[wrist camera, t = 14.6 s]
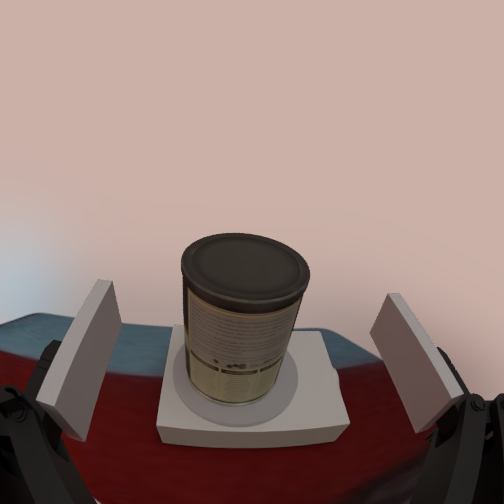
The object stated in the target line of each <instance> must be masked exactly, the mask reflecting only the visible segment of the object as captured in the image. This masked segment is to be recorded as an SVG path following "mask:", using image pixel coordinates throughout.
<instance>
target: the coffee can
mask: <svg viewBox="0 0 504 504" xmlns="http://www.w3.org/2000/svg"><path fill="white" fill-rule="evenodd" d="M181 271H182V275H183V314H184V339H185V359H186V375H187V378H188V381H189V383H190V385H191V386H192V388H193V389H194V390H195V391H196V392H197V393H198V394H199V395H201V396H202V397H203V398H205V399H207V400H208V401H210V402H213V403H215V404H218V405H222V406H230V407H241V406H247V405H251V404H254V403H256V402H258V401H260V400H262V399H263V398H264V397H266V396H267V395H268V394H269V393H270V392H271V391H272V389H273V388H274V386H275V384H276V381H277V377H278V373H279V370H280V367H281V364H282V361H283V359H284V356H285V353H286V350H287V347H288V344H289V340H290V337H291V334H292V331H293V328H294V324H295V321H296V318H297V314H298V311H299V308H300V304H301V301H302V297H303V293H304V292H305V290H306V288H307V286H308V283H309V279H310V270H309V267H308V265H307V263H306V261H305V260H304V259H303V257H302V256H301V255H300V254H299V253H297V252H296V251H295V250H293V249H292V248H290V247H289V246H287V245H285V244H283V243H281V242H278V241H276V240H273V239H270V238H267V237H263V236H259V235H253V234H244V233H223V234H216V235H211V236H207V237H204V238H202V239H199V240H197V241H195V242H194V243H192V244H191V245H190V246H188V247H187V248H186V250H185V251H184V253H183V255H182V258H181Z"/></svg>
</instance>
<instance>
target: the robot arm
mask: <svg viewBox="0 0 504 504" xmlns="http://www.w3.org/2000/svg"><path fill="white" fill-rule="evenodd" d="M121 328H122V322H121V318H120V314H119V310H118V305H117V301H116V296H115V291H114V286H113V281H109V280H99V279H98V280H97V282H96V283H95V285H94V286H93V289H92V290H91V291H90V293H89V295H88V296H87V298H86V300H85V301H84V303H83V305H82V307H81V309H80V310H79V312H78V314H77V315H76V317H75V319H74V321H73V323H72V324H71V326H70V328H69V330H68V332H67V334H66V336H65V338H64V340H63V342H61V341H57V340H53V341H52V342H51V343H50V344H49V345H48V346H47V347H46V348H45V349H44V351H43V353H42V355H41V357H40V360H39V361H38V363H37V365H36V368H35V369H34V371H33V373H32V375H31V377H30V379H29V381H28V384H27V386H26V388H25V390H24V393H23V394H22V393H21V391H20V390H19V389H18V388H17V387H16V386H13V385H10V384H9V385H4V386H2V387H0V504H97V503H96V501H95V500H94V498H93V496H92V495H91V493H90V491H89V490H88V488H87V486H86V485H85V483H84V481H83V480H82V478H81V476H80V474H79V472H78V470H77V469H76V467H75V465H74V463H73V461H72V459H71V457H70V455H69V453H68V451H67V448H66V446H65V444H64V442H63V440H62V439H61V433H62V431H63V432H64V433H65V434H66V435H67V436H68V437H71V438H74V439H77V440H80V441H83V442H85V441H86V437H87V433H88V429H89V425H90V421H91V418H92V414H93V411H94V407H95V404H96V401H97V397H98V394H99V391H100V388H101V384H102V381H103V378H104V375H105V372H106V369H107V366H108V363H109V360H110V358H111V355H112V352H113V349H114V346H115V344H116V341H117V338H118V335H119V333H120V330H121ZM370 335H371V337H372V338H373V341H374V343H375V345H376V347H377V349H378V350H379V353H380V355H381V357H382V359H383V361H384V363H385V365H386V367H387V369H388V372H389V374H390V376H391V378H392V380H393V382H394V384H395V387H396V389H397V391H398V393H399V395H400V398H401V400H402V402H403V405H404V407H405V409H406V411H407V414H408V416H409V419H410V421H411V423H412V426H413V428H414V431H415V433H419V432H422V431H424V430H427V429H429V428H430V427H431V426H432V425H433V424H434V423H435V422H436V424H437V427H436V428H435V429H434V430H433V431H432V432H431V433H429V434H428V435H427V436H426V438H425V440H427V439H429V438H430V437H431V436H432V435H433V437H432V438H431V439H430V440H429V441H430V442H431V444H430V447H429V451H428V454H427V457H426V461H425V464H424V467H423V470H422V473H421V475H420V478H419V481H418V484H417V486H416V489H415V491H414V494H413V496H412V499H411V501H410V503H409V504H504V394H503V393H502V394H499V395H498V396H497V397H496V398H495V399H494V400H492V401H484V399H483V398H482V397H481V396H480V395H478V394H474V393H473V394H470V392H469V391H468V389H467V387H466V386H465V384H464V382H463V380H462V379H461V377H460V375H459V374H458V372H457V370H455V367H454V366H453V364H451V361H450V359H449V357H448V356H447V354H446V353H445V352H444V351H443V350H441V349H440V348H439V347H435V345H434V343H433V342H432V340H431V338H430V337H429V335H428V334H427V333H426V331H425V329H424V328H423V326H422V325H421V324H420V322H419V321H418V319H417V318H416V316H415V315H414V313H413V312H412V310H411V309H410V308H409V306H408V305H407V303H406V302H405V301H404V299H403V298H402V297H401V295H400V294H399V293H388V294H387V296H386V299H385V301H384V303H383V305H382V308H381V310H380V312H379V314H378V316H377V319H376V321H375V323H374V325H373V327H372V329H371V331H370ZM492 430H493V436H492V437H491V438H490V439H488V437H487V435H488V434H489V433H490V432H491V431H492Z"/></svg>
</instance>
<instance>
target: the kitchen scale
mask: <svg viewBox="0 0 504 504" xmlns="http://www.w3.org/2000/svg"><path fill="white" fill-rule="evenodd" d="M349 424H350V421H349V418H348V415H347V412H346V409H345V405H344V402H343V399H342V396H341V393H340V390H339V378H338V374H337V371H336V370H335V369H334V368H332V365H331V362H330V359H329V356H328V353H327V350H326V347H325V344H324V342H323V339H322V336H321V333H320V331H292V334H291V337H290V340H289V344H288V347H287V350H286V353H285V356H284V359H283V361H282V364H281V367H280V370H279V373H278V377H277V381H276V384H275V386H274V388H273V389H272V391H271V392H270V393H269V394H268V395H267V396H266V397H264V398H263V399H262V400H260V401H258V402H256V403H254V404H251V405H247V406H241V407H230V406H222V405H218V404H215V403H213V402H210V401H208V400H207V399H205V398H203V397H202V396H201V395H199V394H198V393H197V392H196V391H195V390H194V389H193V388H192V386H191V385H190V383H189V381H188V378H187V375H186V359H185V339H184V325H174V326H173V331H172V336H171V341H170V346H169V351H168V357H167V362H166V367H165V373H164V379H163V385H162V391H161V397H160V403H159V410H158V417H157V424H156V426H157V429H158V431H159V434H160V437H161V440H162V442H163V443H169V444H178V445H187V446H199V447H216V448H271V447H287V446H299V445H309V444H317V443H325V442H332V441H335V440H336V439H337V438H338V436H339V435H340V434H341V433H342V432H343V431H344V430H345V429H346V428H347V426H348V425H349Z"/></svg>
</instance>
